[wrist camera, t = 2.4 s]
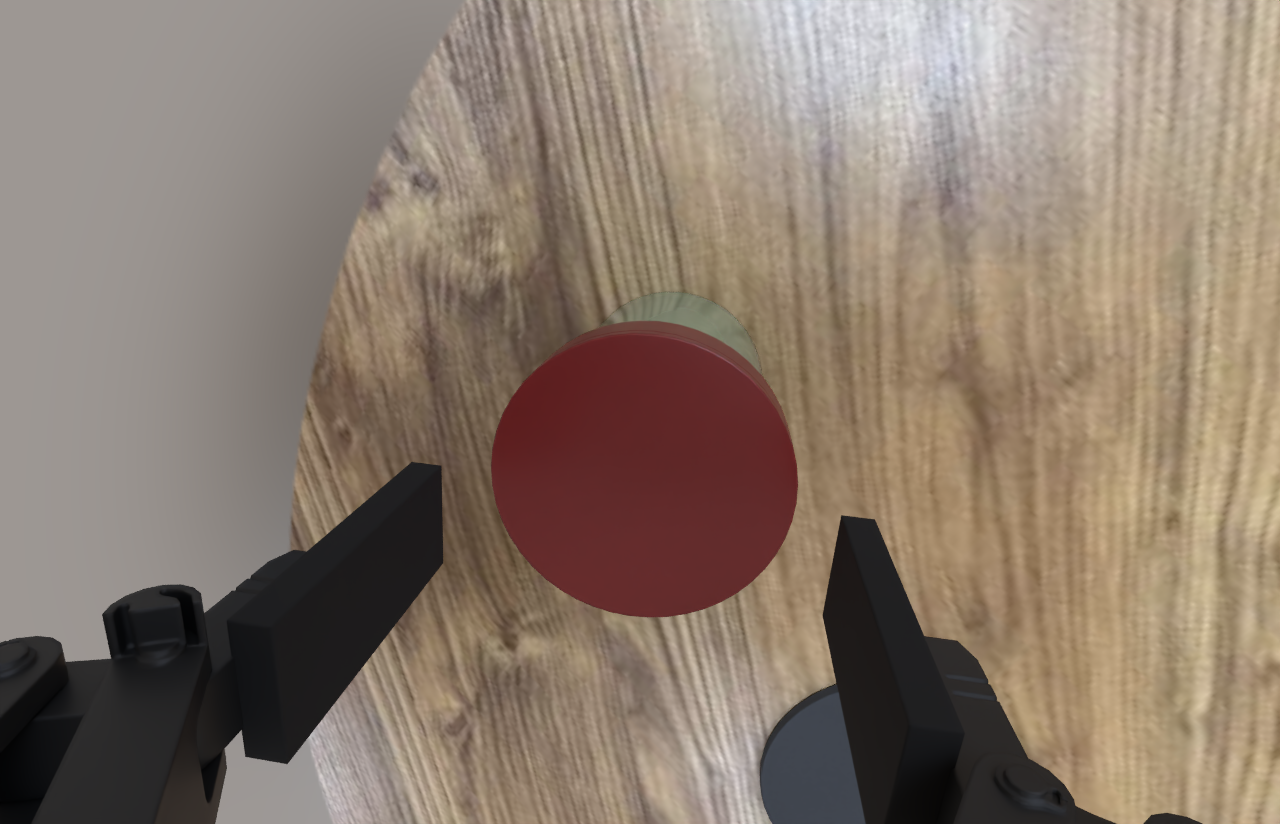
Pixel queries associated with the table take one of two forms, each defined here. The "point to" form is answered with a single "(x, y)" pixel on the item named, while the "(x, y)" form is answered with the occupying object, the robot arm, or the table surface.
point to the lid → (646, 470)
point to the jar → (689, 319)
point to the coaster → (811, 766)
